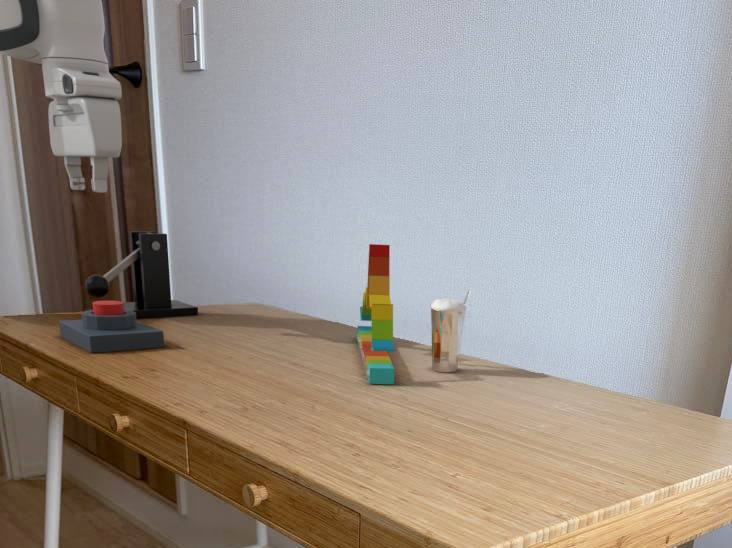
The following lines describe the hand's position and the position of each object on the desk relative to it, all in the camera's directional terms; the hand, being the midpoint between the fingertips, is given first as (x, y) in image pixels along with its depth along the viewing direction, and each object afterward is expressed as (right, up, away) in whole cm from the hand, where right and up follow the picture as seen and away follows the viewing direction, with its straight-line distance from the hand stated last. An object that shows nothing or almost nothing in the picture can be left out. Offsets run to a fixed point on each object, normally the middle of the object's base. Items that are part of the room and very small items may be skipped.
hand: (88, 191), depth 123 cm
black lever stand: (+4, -13, +17) cm, 22 cm away
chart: (+43, -27, -10) cm, 51 cm away
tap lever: (+2, -8, +13) cm, 15 cm away
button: (+6, -21, -9) cm, 23 cm away
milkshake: (+53, -30, -14) cm, 62 cm away
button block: (+6, -24, -7) cm, 26 cm away
